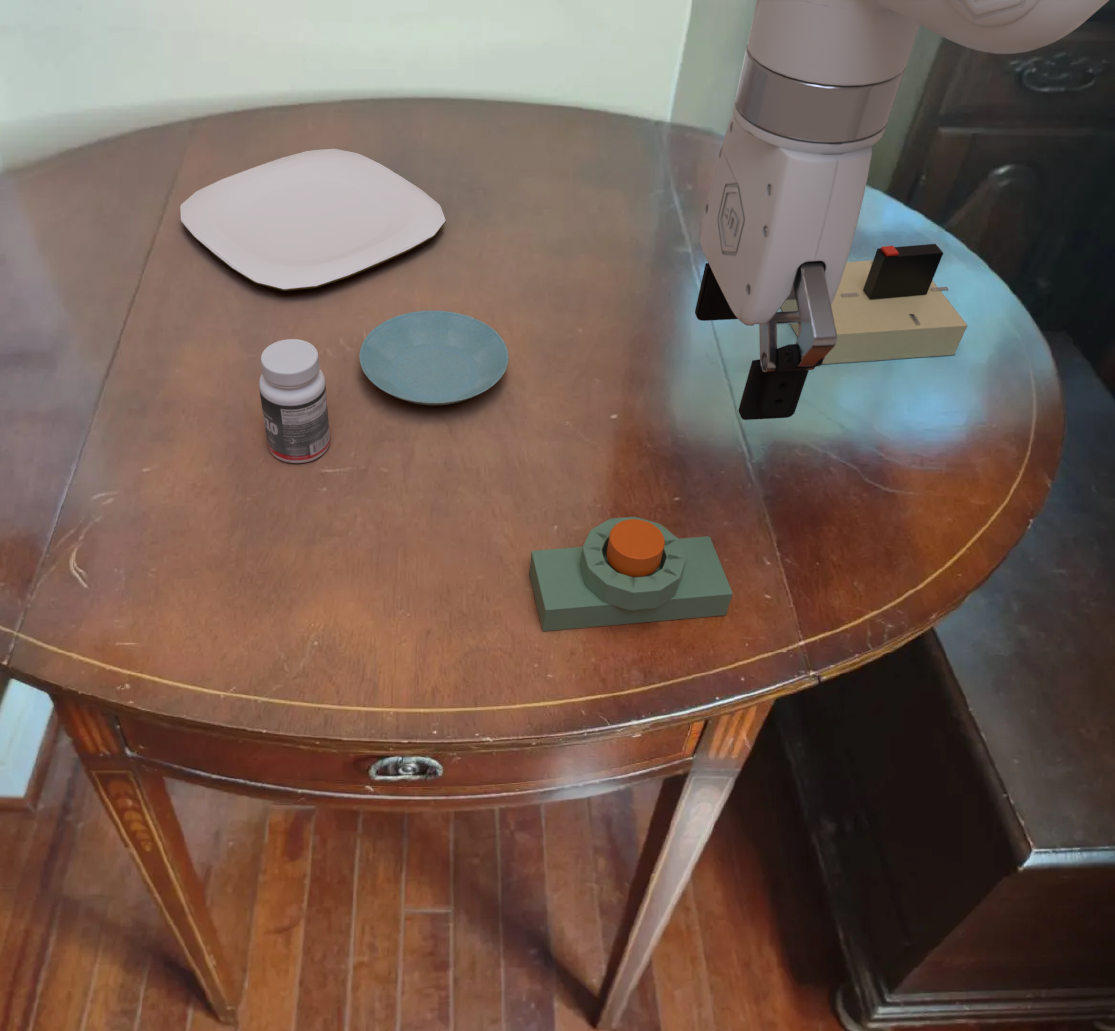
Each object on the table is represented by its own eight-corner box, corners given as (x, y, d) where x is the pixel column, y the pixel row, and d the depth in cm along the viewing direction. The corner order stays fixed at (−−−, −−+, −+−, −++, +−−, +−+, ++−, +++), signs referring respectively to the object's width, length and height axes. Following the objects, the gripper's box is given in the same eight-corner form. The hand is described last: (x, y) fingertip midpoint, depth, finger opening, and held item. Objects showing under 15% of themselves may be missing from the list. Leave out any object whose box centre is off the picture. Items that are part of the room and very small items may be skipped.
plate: (157, 217, 102) (153, 201, 101) (339, 150, 111) (338, 135, 110) (279, 320, 90) (277, 303, 89) (472, 235, 99) (472, 219, 98)
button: (652, 535, 68) (657, 516, 66) (666, 575, 65) (671, 556, 64) (601, 539, 67) (604, 520, 66) (613, 579, 65) (616, 561, 64)
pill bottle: (263, 429, 80) (250, 340, 74) (324, 418, 81) (316, 330, 75) (272, 470, 77) (259, 381, 71) (336, 459, 78) (328, 370, 72)
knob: (919, 285, 88) (936, 240, 85) (926, 294, 87) (944, 250, 84) (862, 290, 88) (878, 245, 85) (869, 299, 87) (885, 255, 84)
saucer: (533, 363, 86) (535, 340, 84) (455, 444, 79) (455, 421, 77) (415, 316, 90) (414, 294, 89) (331, 388, 84) (329, 366, 82)
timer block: (701, 550, 71) (712, 509, 69) (729, 623, 67) (742, 582, 64) (527, 565, 71) (531, 524, 68) (544, 639, 66) (549, 599, 63)
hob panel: (910, 286, 93) (922, 255, 91) (961, 354, 86) (975, 323, 84) (772, 295, 92) (781, 264, 90) (813, 365, 86) (824, 333, 83)
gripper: (696, 25, 58) (648, 287, 70) (798, 181, 46) (719, 463, 59) (828, 20, 59) (758, 282, 71) (963, 174, 47) (850, 456, 59)
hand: (740, 364), depth 65 cm, fingers open, 9 cm apart
